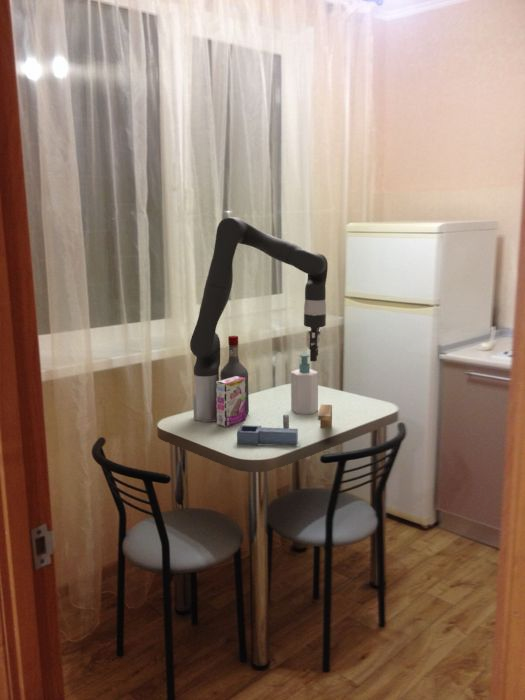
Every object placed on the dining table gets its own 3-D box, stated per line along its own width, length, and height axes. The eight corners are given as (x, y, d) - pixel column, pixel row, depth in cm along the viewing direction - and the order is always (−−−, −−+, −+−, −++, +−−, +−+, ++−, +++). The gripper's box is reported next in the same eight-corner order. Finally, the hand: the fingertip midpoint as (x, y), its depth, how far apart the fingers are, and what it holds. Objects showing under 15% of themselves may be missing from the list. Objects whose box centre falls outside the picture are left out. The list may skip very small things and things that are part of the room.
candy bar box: (226, 428, 229) (225, 383, 225) (216, 425, 232) (214, 381, 229) (246, 420, 237) (246, 377, 234) (236, 417, 240) (235, 375, 237)
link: (237, 444, 212) (236, 431, 211) (241, 437, 219) (240, 425, 218) (295, 447, 209) (295, 434, 208) (298, 440, 216) (298, 427, 215)
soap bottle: (318, 407, 252) (318, 352, 247) (317, 414, 243) (317, 357, 239) (291, 406, 253) (291, 352, 248) (290, 413, 244) (290, 357, 240)
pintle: (282, 432, 223) (282, 416, 221) (283, 431, 225) (283, 414, 223) (288, 433, 222) (288, 416, 221) (289, 431, 224) (289, 414, 223)
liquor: (232, 408, 252) (230, 333, 245) (251, 412, 246) (250, 335, 240) (218, 414, 244) (216, 337, 238) (237, 418, 239) (235, 339, 233)
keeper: (318, 438, 217) (318, 415, 215) (320, 426, 229) (320, 404, 228) (329, 438, 216) (330, 416, 215) (331, 426, 229) (332, 404, 227)
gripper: (305, 309, 228) (304, 353, 231) (302, 315, 214) (301, 362, 217) (326, 309, 227) (325, 354, 230) (324, 315, 213) (324, 363, 216)
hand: (314, 358), depth 224 cm, fingers open, 8 cm apart
